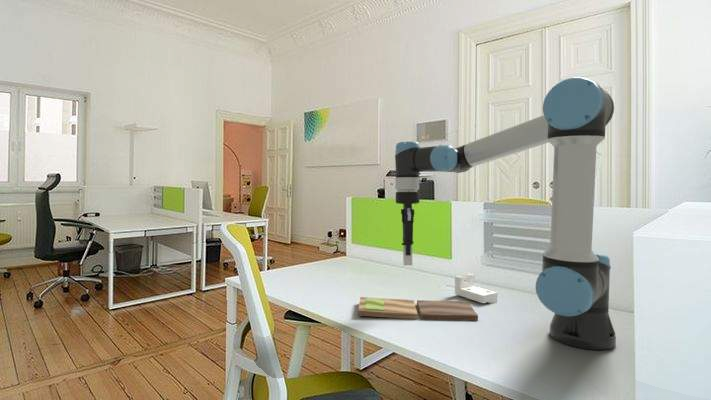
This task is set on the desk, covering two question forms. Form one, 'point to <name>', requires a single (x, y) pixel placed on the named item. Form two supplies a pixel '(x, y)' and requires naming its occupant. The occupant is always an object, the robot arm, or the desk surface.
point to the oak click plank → (387, 308)
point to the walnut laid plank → (446, 310)
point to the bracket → (473, 290)
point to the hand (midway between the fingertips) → (407, 264)
